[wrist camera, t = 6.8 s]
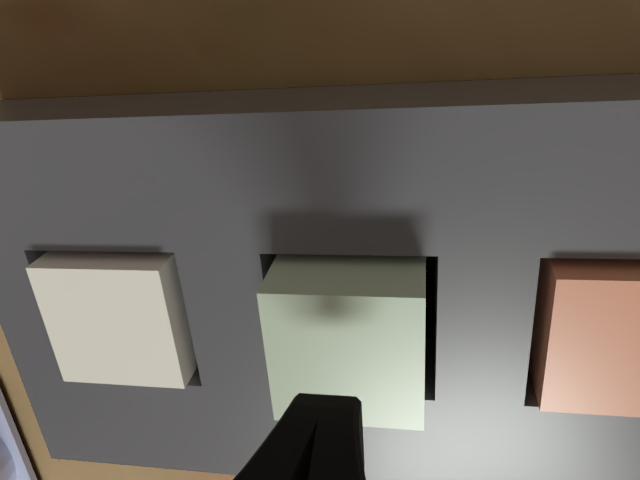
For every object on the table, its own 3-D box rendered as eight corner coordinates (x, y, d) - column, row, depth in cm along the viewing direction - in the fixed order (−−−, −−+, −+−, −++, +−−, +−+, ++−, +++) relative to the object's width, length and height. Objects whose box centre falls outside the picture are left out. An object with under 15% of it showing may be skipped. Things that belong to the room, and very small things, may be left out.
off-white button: (112, 326, 20) (63, 381, 17) (83, 224, 18) (25, 268, 16) (218, 330, 19) (184, 388, 17) (199, 225, 18) (158, 270, 15)
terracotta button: (522, 343, 17) (539, 411, 15) (534, 226, 16) (556, 279, 13) (663, 349, 17) (707, 421, 14) (691, 227, 15) (749, 283, 12)
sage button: (296, 352, 18) (273, 420, 15) (284, 239, 16) (256, 293, 13) (424, 358, 17) (424, 431, 14) (426, 240, 15) (425, 298, 13)
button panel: (95, 399, 22) (51, 457, 20) (1, 100, 17) (-76, 124, 15) (700, 441, 18) (746, 521, 16) (811, 66, 13) (908, 91, 11)
